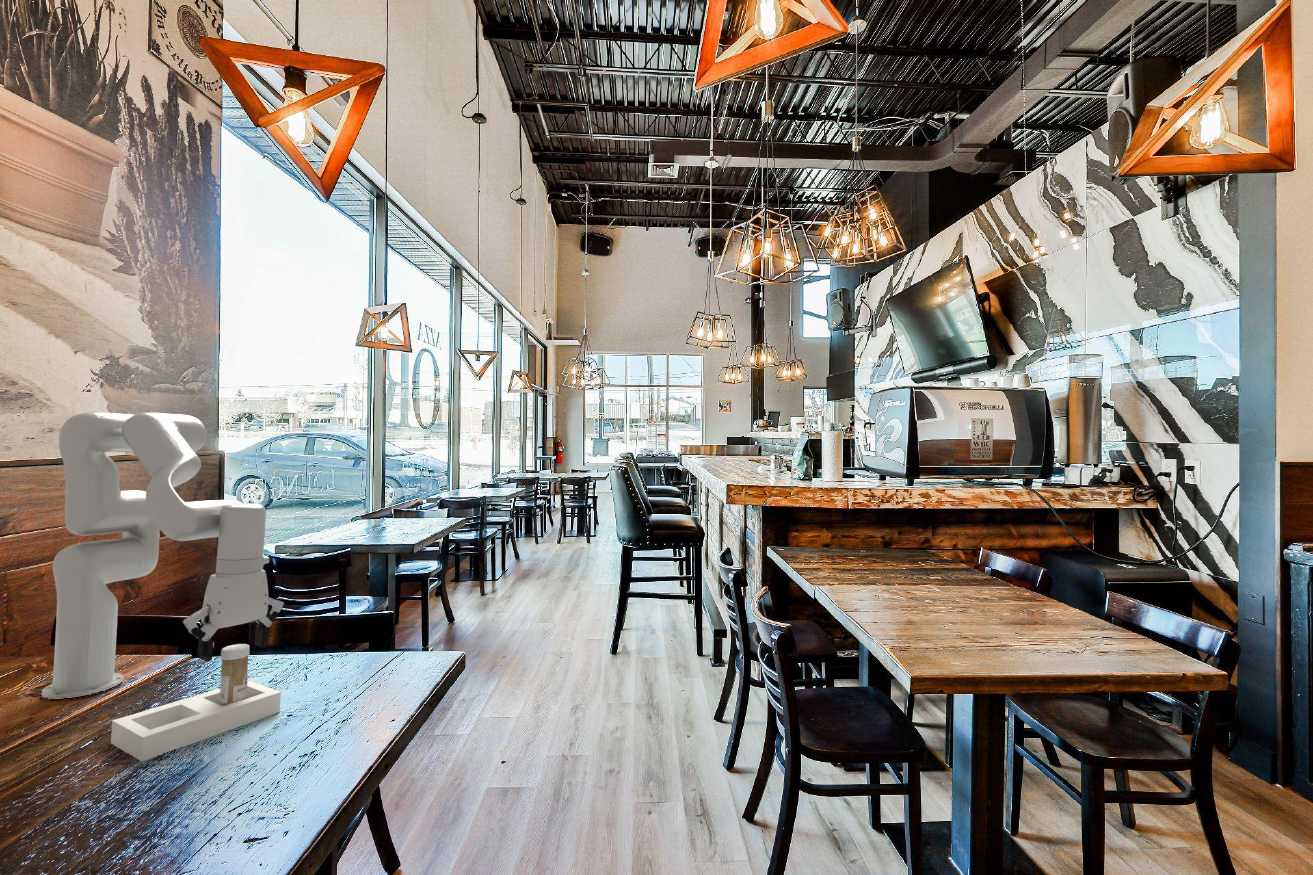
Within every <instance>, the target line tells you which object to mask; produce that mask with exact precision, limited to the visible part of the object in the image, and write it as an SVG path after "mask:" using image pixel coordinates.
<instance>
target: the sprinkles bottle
mask: <svg viewBox="0 0 1313 875" xmlns="http://www.w3.org/2000/svg"><path fill="white" fill-rule="evenodd" d="M250 652H251V651H250V645H249V644H247V643H237V644H232V645H227V646H225V647H223V648H221V651H220V660H221V672H220V682H219V683H220V684H219V686H220V688H219V689H220V706H226V705H229V704H232V703H235V702H238V701H241V700H244V699H246V696H247V680H248V676H249V675H248V671H249V670H248V667H249V655H250Z"/></svg>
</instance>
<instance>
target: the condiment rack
mask: <svg viewBox="0 0 1313 875" xmlns="http://www.w3.org/2000/svg"><path fill="white" fill-rule="evenodd" d="M281 693H282V692H281V691H279V690H276V689H273V688H271V687H268V686H266V685H262V684H260V683H258V682H254V681H252V680H247V696H246V699H244V700H241V701H238V702H235V703H232V704H229V705H226V706H220V688H218V689H214V690H210V691H207V692H204V693H200V694H197V695H194V696H190V697H188V698H187V697H186V698H183V699H180V700H176V701H173V702H170V703H166V704H164V705H159V706H156V707H153V708H150V709H147V710H143V711H141V712H137V713H133V714H130V715H126V716H123V717H120V718H117V719H113V720H112V721H111V737H110V738H111V739H110V744H111V745H113V746H114V747H116V748H118V749H120V750H121V751H123V752H125V753H126V754H128V753H129V754H128V755H130V756H131V755H132V757H133V758H135V759H136V760H138V761H139V762H145V761H148V760H151V759H153V758H156V757H159V756H161V755H164V754H163V753H165V754H168V753H170V752H173V751H175V750H174V749H176V750H179V749H181V748H180V747H182V748H184V747H187V746H190V745H192V744H195V743H198V742H201V741H204V740H207V739H209V738H212V737H215V736H218V735H222V734H223V733H226V732H228V731H229V732H230V731H232V730H234V729H238V728H240V727H243V726H245V725H248V724H251V723H254V722H257V721H259V720H263V719H265V718H268V717H271V716H274V715H276V713H277V714H279V713H281V698H282V696H281ZM278 712H279V713H278ZM273 714H274V715H273ZM267 716H268V717H267ZM172 750H173V751H172ZM169 751H170V752H169ZM167 752H168V753H167ZM158 755H159V756H158Z"/></svg>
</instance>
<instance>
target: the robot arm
mask: <svg viewBox="0 0 1313 875" xmlns="http://www.w3.org/2000/svg"><path fill="white" fill-rule="evenodd" d="M207 439H208V431H207V429H206V427H205V425H204V423H202V421H201V420H199V418H196V417H194V416H192V415H188V414H180V413H179V414H176V413H166V412H165V413H163V412H141V413H136V414H127V413H118V412H117V413H116V412H99V411H98V412H95V411H93V412H92V411H91V412H83V413H78V414H74V415H71V417H69V418H68V419H67V420H65V422H64V423H63V425H61V428H60V431H59V435H58V448H59V451H60V455H61V456H60V457H61V459H62V462H63V465H64V466H63V467H64V470H65V472H64V473H65V484H64V486H65V487H64V524H65V527H66V530H67V531H68V532H69V533H71V534H73V535H76V536H95V535H96V536H97V535H107V534H108V535H109V534H110V535H111V534H118V533H122V538H113V539H102V540H94V541H93V540H92V541H86V542H85V541H84V542H80V543H79V542H78V543H74V544H71V545H68V546H67V547H65V548H63V549H61V550H59V552H57V554H55V556H54V559H53V562H52V573H53V578H54V582H55V583H54V584H55V588H56V590H55V591H56V617H55V620H56V621H55V622H56V623H55V625H56V626H55V637H54V638H55V640H54V655H53V656H54V657H53V659H54V660H53V671H52V672H53V673H52V683H51V684H49V685H47V686H45V687H44V688H42V690H41V695H42V696H41V697H42V698H43V697H44V698H43V699H45V698H51V699H54V698H68V697H79V696H83V695H89V694H92V693H97V692H100V691H104V692H106V691H105V690H107V689H109V688H112V687H114V686H117V685H118V684H120V683H121V682H122V683H123V682H124V678H125V677H124V675H123V674H121V673H120V672H119V673H118V672H115V668H116V666H115V665H116V664H115V663H116V650H117V647H116V646H117V632H118V631H117V630H118V611H119V605H118V604H119V603H118V600H117V597H116V596H115V595H114V594H113V592H111V590H110V589H109V588H108V587H107V584H111V583H114V582H120V581H126V580H132V579H138V578H142V577H145V576H147V575H149V574H151V572H153V571H154V570H155V569H156V567H157V564H158V561H159V555H160V554H159V553H160V552H159V550H160V531H161V533H163V535H164V536H166V537H167V538H169V539H170V540H174V541H177V542H178V541H179V542H185V541H195V540H200V539H201V540H202V539H203V540H204V539H209V538H210V539H211V538H212V539H213V538H218V539H217V551H216V553H217V555H216V565H215V573H213V574H210V576H209V579H208V581H207V585H206V589H205V592H204V597H203V603H202V607H201V608H200V609H199V610H198V611H196V612H194V613H192V614H191V615H188V617H186V618H185V619H183V620H182V623H183V625H184V626H185V628H186V629H187V632H188V633H189V634H190V635H193V637H195V638H196V639H198V646H197V656H198V658H199V659H200V660H201V661H203V662H204V661H205V662H207V663H209V662H211V661H212V659H213V648H214V640H213V639H211V638H212V637H213V636H214V634H215V633H216V632H217V631H218V630H219V629H223V628H230V627H233V626H234V627H235V626H238V625H244V624H248V623H252V622H256V623H257V625H256V626H255V631H254V641H253V642H254V643H253V644H254V646H257V647H259V648H262V649H263V648H266V647H267V642H268V640H269V631H270V630H269V629H270V627H271V626H273V622H274V621H276V619H277V618H278V617H279V613H280V612H281V610H282V608H283V607H284V604H285V603H284V601H281V600H277V599H274V598H272V597H269V586H268V579H267V573H266V570H264V565H265V564H269V563H270V557H269V556H265V555H264V547H265V533H266V520H267V519H266V518H267V509H266V508H265V506H264V505H262V504H259V503H252V502H251V503H250V502H249V503H248V502H247V503H245V502H241V501H239V500H234V499H215V500H211V499H210V500H208V499H207V500H193V501H184V500H183V499H182V498H181V497H180V495H179V494H178V493H177V492H176V490H175V488H176V487H178V486H180V485H183V484H185V483H186V482H188V481H190V480H191V479H192V478H194V477H195V476H196V475H197V474H198V473H199V471H200V470H201V467H202V461H201V458H200V457H199V456H198V454H197V453H196V452H198V451H200V450H201V449H203V447H204V446H205V444H206V442H207ZM107 452H111V453H112V452H113V453H133V454H134V455H135V456H136V457H137V459H138V461H139V462H140V463H141V464H142V466H143V467H144V469H145V470H146V472H147V473H148V474H149V475H150V477H151V479H150V481H149V482H148V485H147V487H146V491H144V490H138V489H133V490H131V489H128V490H125V489H124V490H121V489H120V470H119V468H118V466H117V465H116V463H115V462H114V461H113V459H112V458H111V457H110V455H108V454H107ZM269 605H270V606H272V607H271V610H270V611H269V612H268V610H269ZM200 620H201V623H202V624H203V626H202V627H201V628H199V626H198V625H197V624H198V621H200ZM122 683H121V684H122ZM121 684H120V685H121ZM118 686H119V685H118ZM118 686H117V687H118ZM112 689H113V688H112ZM107 691H108V690H107ZM97 694H98V693H97ZM89 696H90V695H89ZM79 698H80V697H79Z"/></svg>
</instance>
